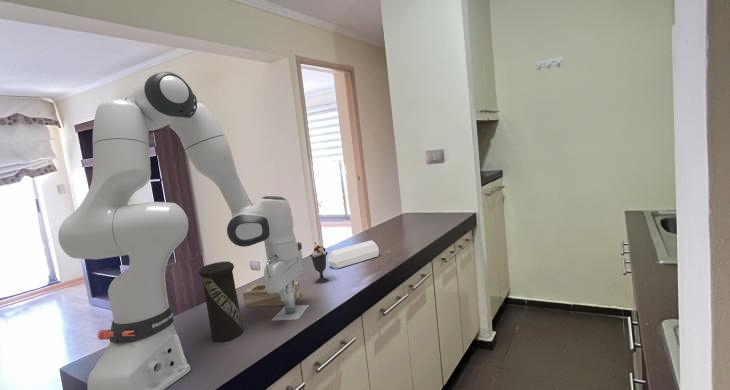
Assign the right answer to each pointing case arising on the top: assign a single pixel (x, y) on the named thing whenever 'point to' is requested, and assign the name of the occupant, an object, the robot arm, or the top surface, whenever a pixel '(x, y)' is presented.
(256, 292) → the socket block
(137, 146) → the robot arm
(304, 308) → the mat
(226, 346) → the top surface
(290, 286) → the peg
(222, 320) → the container
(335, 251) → the crystal
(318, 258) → the sundae
